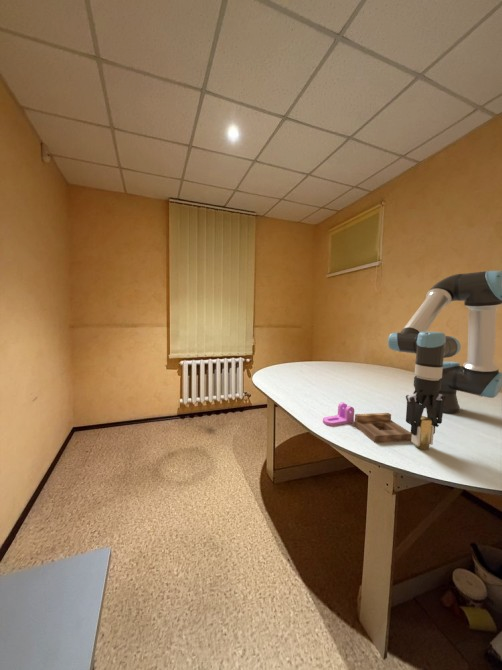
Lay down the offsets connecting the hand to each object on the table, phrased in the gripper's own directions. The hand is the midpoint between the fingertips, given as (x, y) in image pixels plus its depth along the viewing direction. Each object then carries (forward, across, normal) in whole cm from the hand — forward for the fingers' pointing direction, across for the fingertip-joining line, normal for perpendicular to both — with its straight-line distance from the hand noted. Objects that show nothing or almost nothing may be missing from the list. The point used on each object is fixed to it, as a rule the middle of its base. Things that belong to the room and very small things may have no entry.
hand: (421, 442), depth 85 cm
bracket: (+2, +20, -22) cm, 30 cm away
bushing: (+1, 0, 0) cm, 1 cm away
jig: (+1, +7, -11) cm, 13 cm away
